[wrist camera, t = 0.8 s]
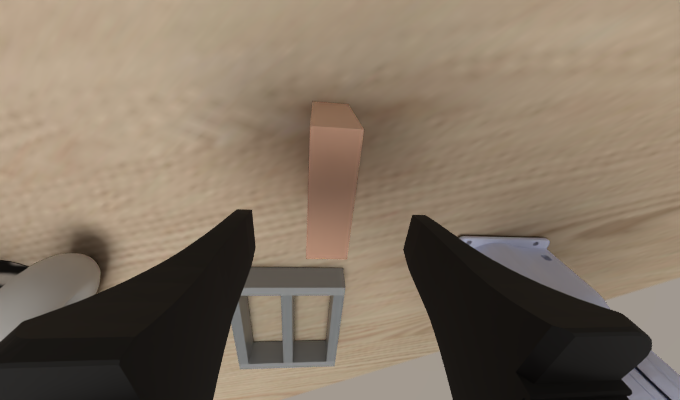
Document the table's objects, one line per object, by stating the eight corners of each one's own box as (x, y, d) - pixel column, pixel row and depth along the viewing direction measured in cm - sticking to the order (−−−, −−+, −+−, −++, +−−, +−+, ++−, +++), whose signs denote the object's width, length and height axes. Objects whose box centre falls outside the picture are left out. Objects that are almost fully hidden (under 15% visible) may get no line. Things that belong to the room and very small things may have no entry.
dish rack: (342, 267, 26) (345, 287, 23) (333, 344, 32) (334, 366, 30) (232, 267, 24) (224, 287, 22) (245, 347, 31) (240, 369, 29)
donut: (101, 307, 26) (-7, 435, 17) (61, 297, 25) (-78, 428, 16) (121, 238, 22) (-7, 358, 13) (73, 222, 21) (-100, 341, 12)
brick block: (348, 104, 18) (364, 129, 12) (338, 202, 22) (346, 259, 16) (312, 101, 18) (310, 125, 12) (309, 201, 22) (306, 258, 16)
